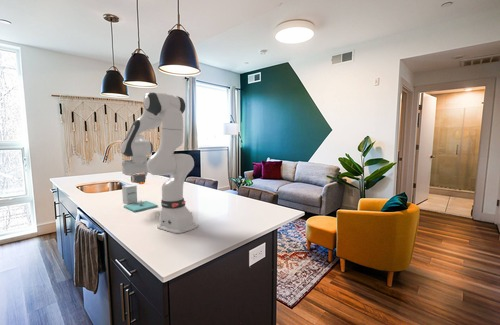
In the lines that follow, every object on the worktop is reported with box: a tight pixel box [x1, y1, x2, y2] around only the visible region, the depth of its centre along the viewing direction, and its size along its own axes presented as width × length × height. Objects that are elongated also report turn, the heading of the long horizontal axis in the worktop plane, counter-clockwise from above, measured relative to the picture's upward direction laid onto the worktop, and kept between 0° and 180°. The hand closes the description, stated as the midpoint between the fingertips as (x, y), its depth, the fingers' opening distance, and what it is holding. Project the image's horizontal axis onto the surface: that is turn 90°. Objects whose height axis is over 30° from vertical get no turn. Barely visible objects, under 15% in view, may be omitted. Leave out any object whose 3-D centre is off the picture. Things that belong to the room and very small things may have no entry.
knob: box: [132, 173, 146, 184], centre depth 158 cm, size 6×6×5 cm
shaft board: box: [123, 200, 159, 213], centre depth 161 cm, size 16×16×4 cm
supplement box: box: [121, 184, 138, 205], centre depth 171 cm, size 7×7×13 cm
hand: (139, 179), depth 158 cm, fingers closed on knob, 6 cm apart
